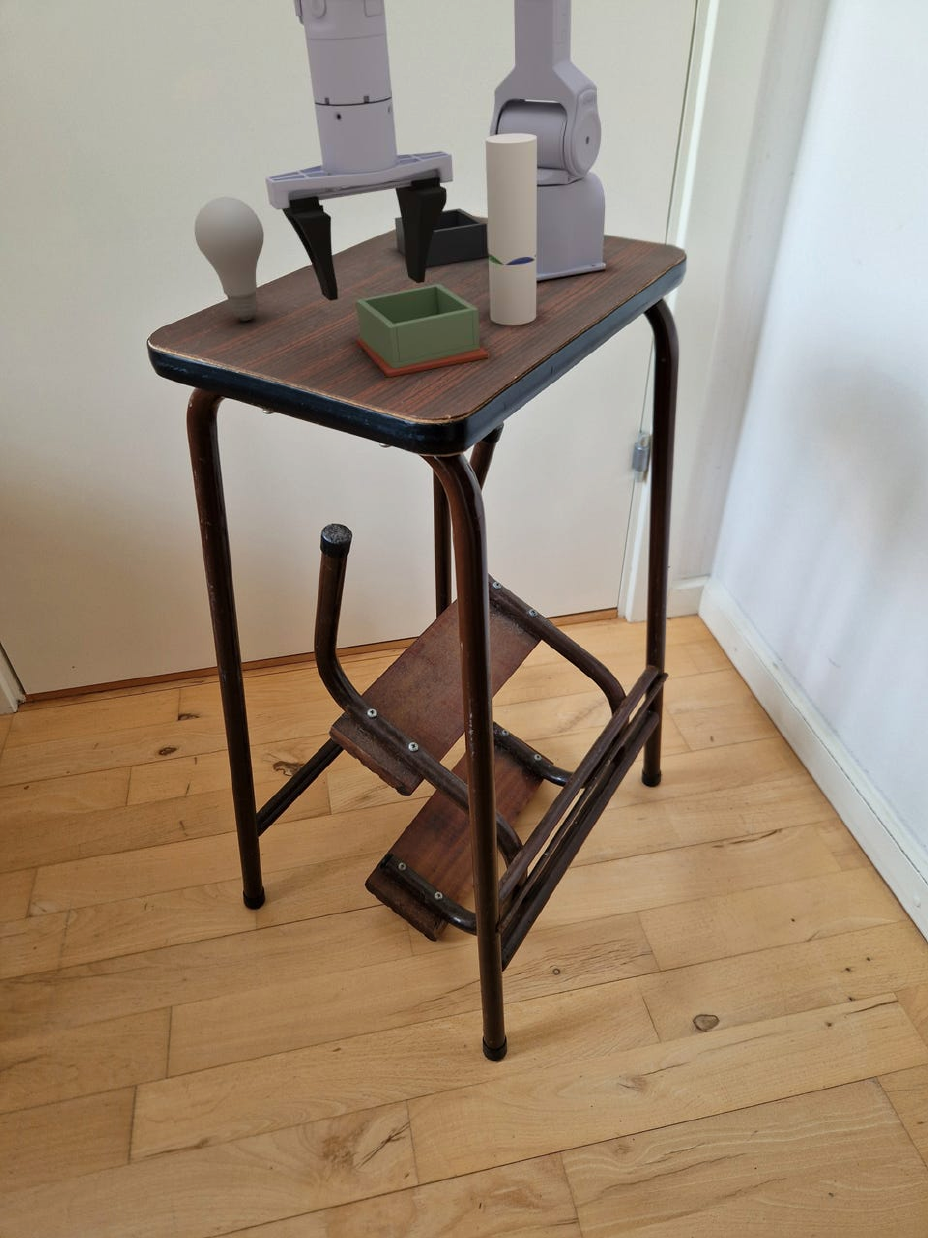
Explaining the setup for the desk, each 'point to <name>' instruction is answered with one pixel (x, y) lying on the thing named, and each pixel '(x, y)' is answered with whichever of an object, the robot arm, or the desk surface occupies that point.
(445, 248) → the box
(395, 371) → the mat
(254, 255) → the lightbulb
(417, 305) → the box
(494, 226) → the tube
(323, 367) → the desk surface
